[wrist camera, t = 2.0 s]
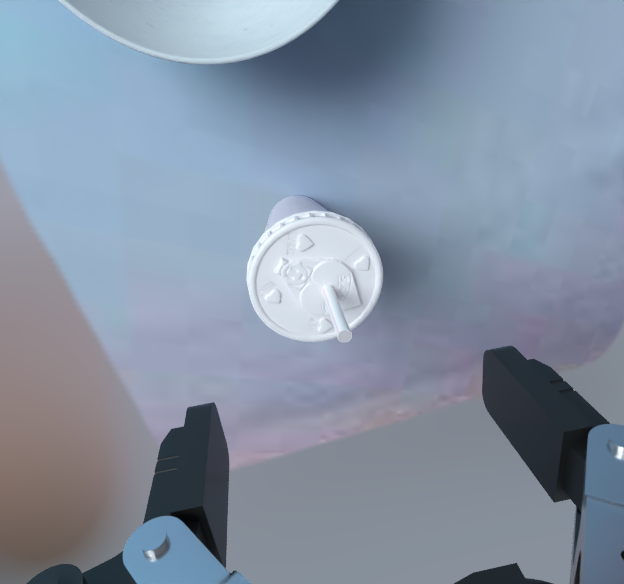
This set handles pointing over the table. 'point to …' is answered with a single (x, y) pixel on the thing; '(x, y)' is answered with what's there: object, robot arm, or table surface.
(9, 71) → the table surface
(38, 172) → the table surface
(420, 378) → the table surface
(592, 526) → the robot arm
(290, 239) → the smoothie
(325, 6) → the chinaware
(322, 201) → the table surface
